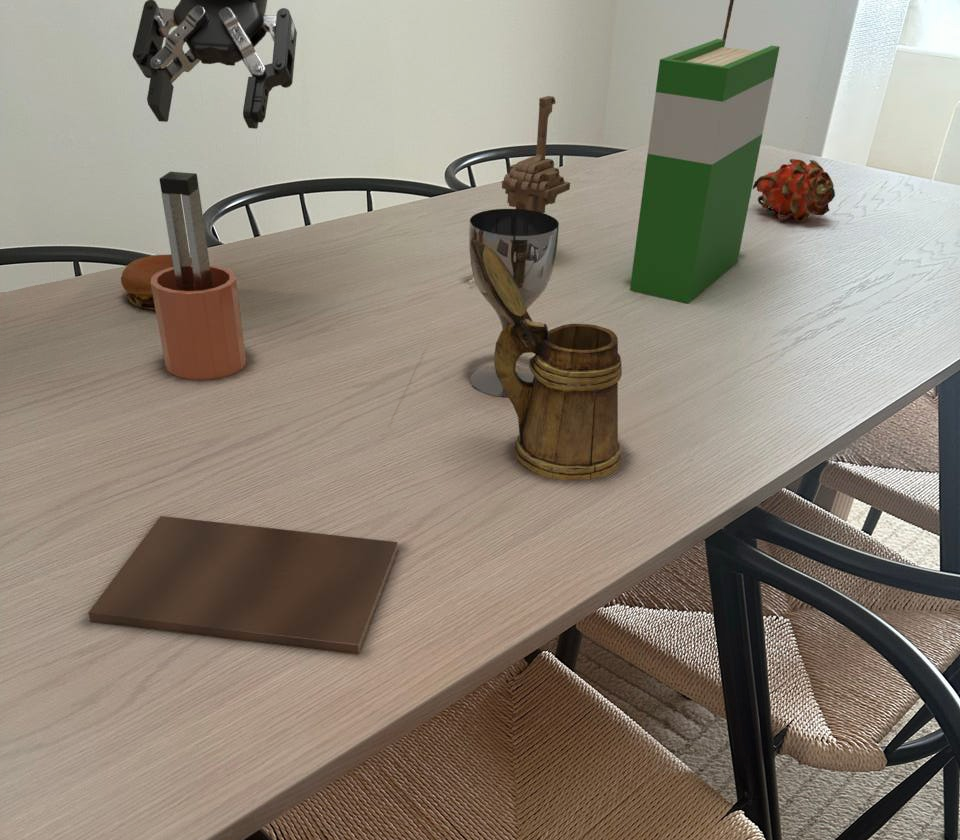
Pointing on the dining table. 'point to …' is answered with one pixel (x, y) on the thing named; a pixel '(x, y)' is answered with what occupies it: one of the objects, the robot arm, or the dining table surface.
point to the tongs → (171, 195)
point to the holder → (200, 326)
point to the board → (250, 584)
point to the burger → (143, 278)
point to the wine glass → (515, 267)
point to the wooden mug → (555, 383)
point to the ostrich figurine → (535, 173)
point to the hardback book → (700, 167)
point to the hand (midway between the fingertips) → (204, 119)
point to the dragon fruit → (796, 190)
